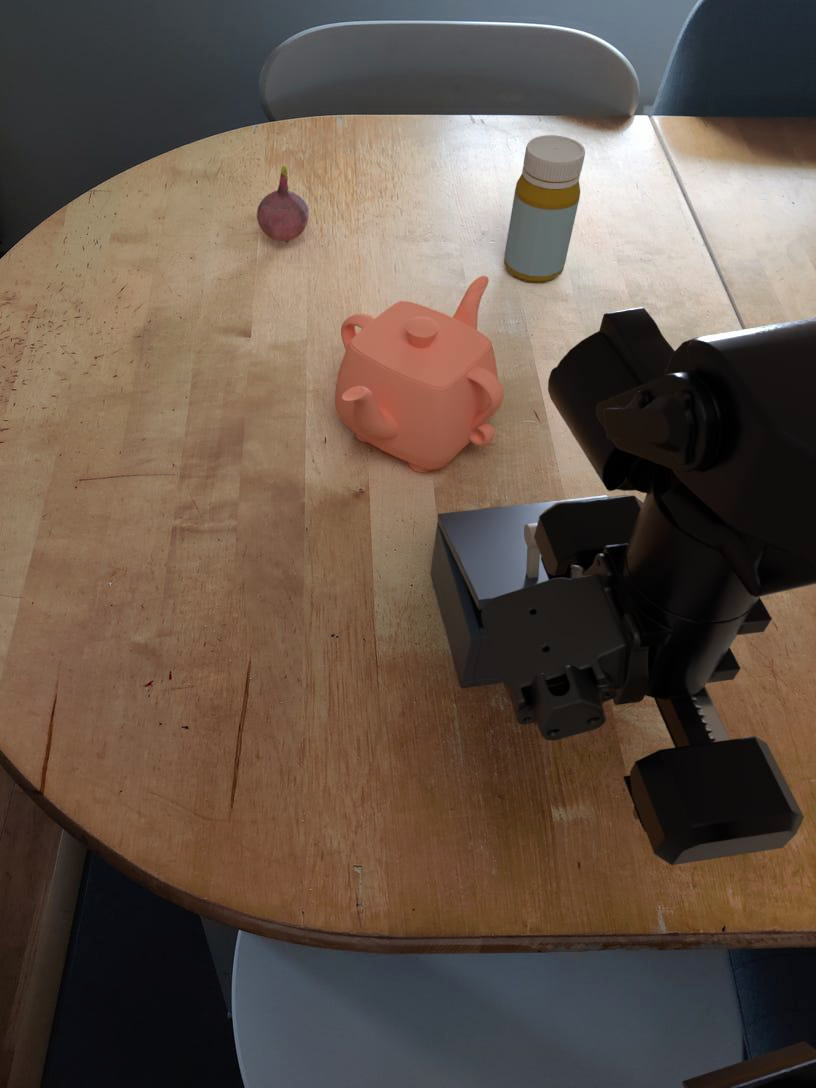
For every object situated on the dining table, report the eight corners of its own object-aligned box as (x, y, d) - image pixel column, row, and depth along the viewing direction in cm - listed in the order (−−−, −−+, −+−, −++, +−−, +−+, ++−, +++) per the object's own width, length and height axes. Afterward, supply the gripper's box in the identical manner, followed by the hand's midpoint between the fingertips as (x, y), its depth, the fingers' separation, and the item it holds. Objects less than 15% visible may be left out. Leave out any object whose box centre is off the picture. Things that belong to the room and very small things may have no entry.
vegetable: (308, 257, 106) (306, 181, 99) (256, 257, 106) (251, 181, 99) (310, 230, 110) (308, 155, 103) (260, 229, 110) (255, 154, 103)
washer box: (634, 665, 67) (658, 615, 63) (460, 688, 66) (471, 639, 61) (587, 555, 75) (605, 503, 70) (430, 573, 73) (437, 521, 69)
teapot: (341, 496, 79) (342, 392, 70) (329, 375, 91) (329, 271, 82) (506, 488, 80) (528, 383, 71) (473, 368, 92) (489, 265, 83)
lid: (675, 585, 60) (684, 524, 57) (478, 610, 58) (480, 548, 56) (606, 503, 70) (611, 449, 68) (437, 522, 68) (437, 467, 66)
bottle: (501, 282, 102) (521, 161, 92) (504, 248, 107) (523, 130, 96) (563, 288, 102) (590, 167, 91) (562, 254, 106) (588, 135, 96)
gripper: (461, 436, 44) (435, 612, 55) (586, 804, 31) (520, 937, 43) (673, 414, 45) (606, 591, 57) (878, 762, 32) (739, 902, 44)
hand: (611, 733), depth 50 cm, fingers open, 9 cm apart
